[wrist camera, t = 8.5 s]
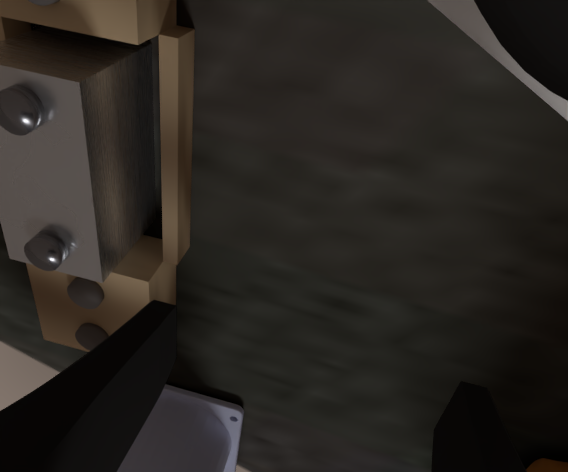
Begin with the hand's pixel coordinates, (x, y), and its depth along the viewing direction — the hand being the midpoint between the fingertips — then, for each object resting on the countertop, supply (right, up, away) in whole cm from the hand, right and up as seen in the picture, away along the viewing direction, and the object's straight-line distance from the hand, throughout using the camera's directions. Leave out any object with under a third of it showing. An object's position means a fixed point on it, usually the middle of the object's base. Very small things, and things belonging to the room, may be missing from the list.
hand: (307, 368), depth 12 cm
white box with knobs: (-8, +8, +9) cm, 14 cm away
